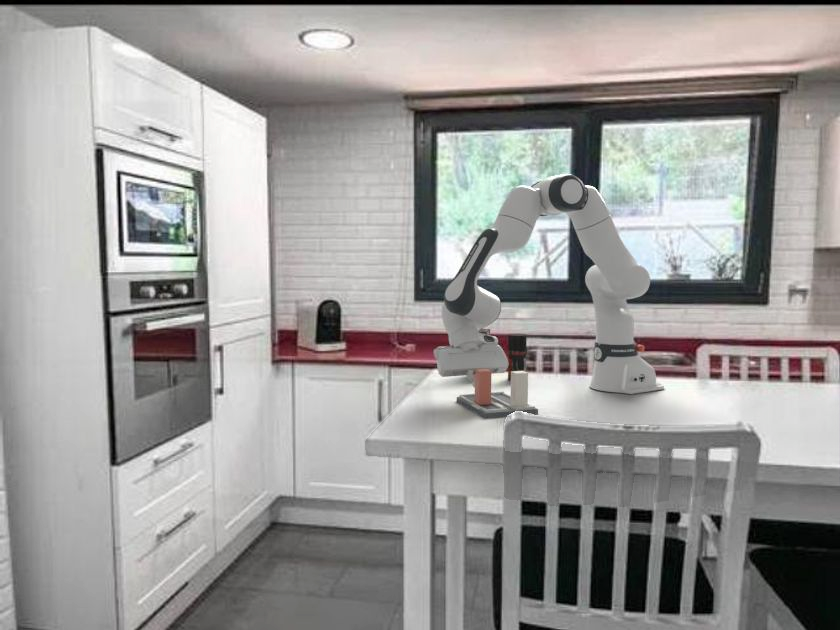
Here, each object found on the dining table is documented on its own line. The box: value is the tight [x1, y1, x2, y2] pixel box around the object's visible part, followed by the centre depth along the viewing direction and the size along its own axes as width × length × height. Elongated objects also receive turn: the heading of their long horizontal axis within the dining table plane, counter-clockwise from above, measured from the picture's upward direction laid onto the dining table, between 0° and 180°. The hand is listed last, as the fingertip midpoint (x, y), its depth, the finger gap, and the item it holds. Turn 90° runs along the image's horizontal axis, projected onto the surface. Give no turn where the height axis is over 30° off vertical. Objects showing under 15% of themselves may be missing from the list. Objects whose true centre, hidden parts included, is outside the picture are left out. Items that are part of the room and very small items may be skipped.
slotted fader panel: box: [456, 391, 539, 419], centre depth 174 cm, size 15×20×2 cm
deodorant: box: [507, 333, 528, 381], centre depth 212 cm, size 6×6×15 cm
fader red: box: [474, 369, 492, 405], centre depth 172 cm, size 4×3×9 cm
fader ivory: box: [510, 371, 529, 407], centre depth 169 cm, size 4×3×9 cm
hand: (479, 385), depth 174 cm, fingers closed, pressing on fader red
